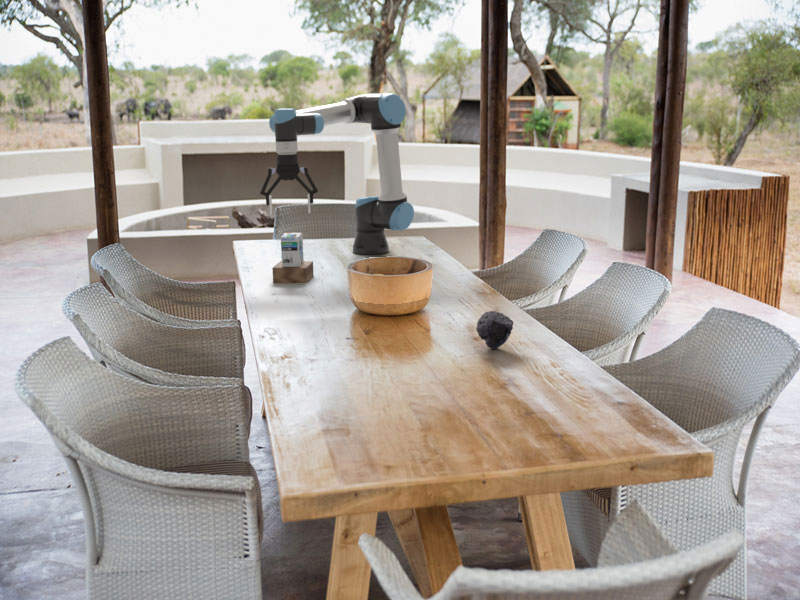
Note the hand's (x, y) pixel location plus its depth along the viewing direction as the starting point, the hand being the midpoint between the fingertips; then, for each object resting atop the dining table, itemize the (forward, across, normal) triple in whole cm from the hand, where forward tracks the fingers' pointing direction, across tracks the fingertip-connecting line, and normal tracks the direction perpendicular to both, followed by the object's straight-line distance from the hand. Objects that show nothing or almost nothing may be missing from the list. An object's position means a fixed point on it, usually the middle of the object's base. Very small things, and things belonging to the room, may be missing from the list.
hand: (290, 213), depth 298 cm
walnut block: (+24, 0, -6) cm, 24 cm away
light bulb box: (+18, 0, -6) cm, 19 cm away
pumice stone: (+23, +52, -99) cm, 114 cm away
